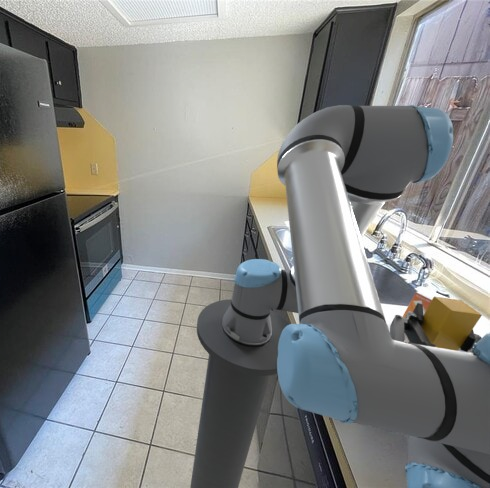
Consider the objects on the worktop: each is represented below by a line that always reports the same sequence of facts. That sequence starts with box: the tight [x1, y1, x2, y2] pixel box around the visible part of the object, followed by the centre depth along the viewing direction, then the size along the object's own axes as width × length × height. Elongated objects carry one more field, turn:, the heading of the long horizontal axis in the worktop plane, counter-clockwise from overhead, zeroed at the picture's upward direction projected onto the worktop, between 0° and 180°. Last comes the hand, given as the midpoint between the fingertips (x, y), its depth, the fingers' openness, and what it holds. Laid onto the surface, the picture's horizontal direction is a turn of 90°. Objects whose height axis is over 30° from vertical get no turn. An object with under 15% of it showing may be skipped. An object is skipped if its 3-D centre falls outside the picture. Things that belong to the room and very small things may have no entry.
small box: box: [402, 288, 448, 319], centre depth 77 cm, size 8×6×13 cm
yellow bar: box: [408, 296, 483, 351], centre depth 44 cm, size 4×4×12 cm
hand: (439, 316), depth 48 cm, fingers closed on yellow bar, 5 cm apart
